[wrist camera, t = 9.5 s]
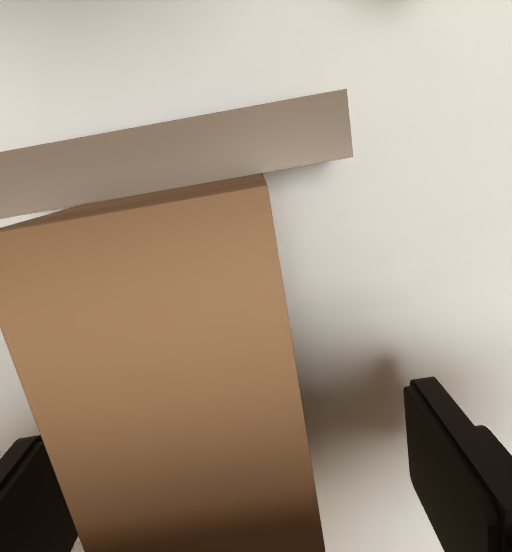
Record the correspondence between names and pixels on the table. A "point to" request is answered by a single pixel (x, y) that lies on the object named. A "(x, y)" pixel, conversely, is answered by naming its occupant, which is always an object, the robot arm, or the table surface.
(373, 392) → the table surface
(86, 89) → the table surface
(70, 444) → the scraper
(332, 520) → the table surface
